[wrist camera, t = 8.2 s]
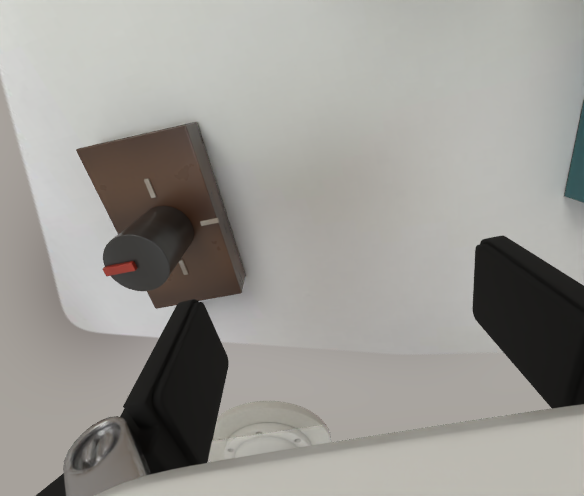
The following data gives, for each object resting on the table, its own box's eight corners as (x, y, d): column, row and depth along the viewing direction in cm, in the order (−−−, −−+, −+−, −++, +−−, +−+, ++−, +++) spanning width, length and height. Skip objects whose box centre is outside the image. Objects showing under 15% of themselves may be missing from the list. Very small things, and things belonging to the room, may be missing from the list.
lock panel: (247, 275, 29) (242, 294, 26) (166, 290, 30) (153, 310, 27) (198, 121, 23) (186, 124, 20) (98, 144, 23) (72, 149, 21)
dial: (183, 200, 22) (152, 230, 17) (200, 247, 24) (177, 287, 19) (132, 211, 23) (87, 244, 18) (154, 256, 24) (118, 299, 19)
